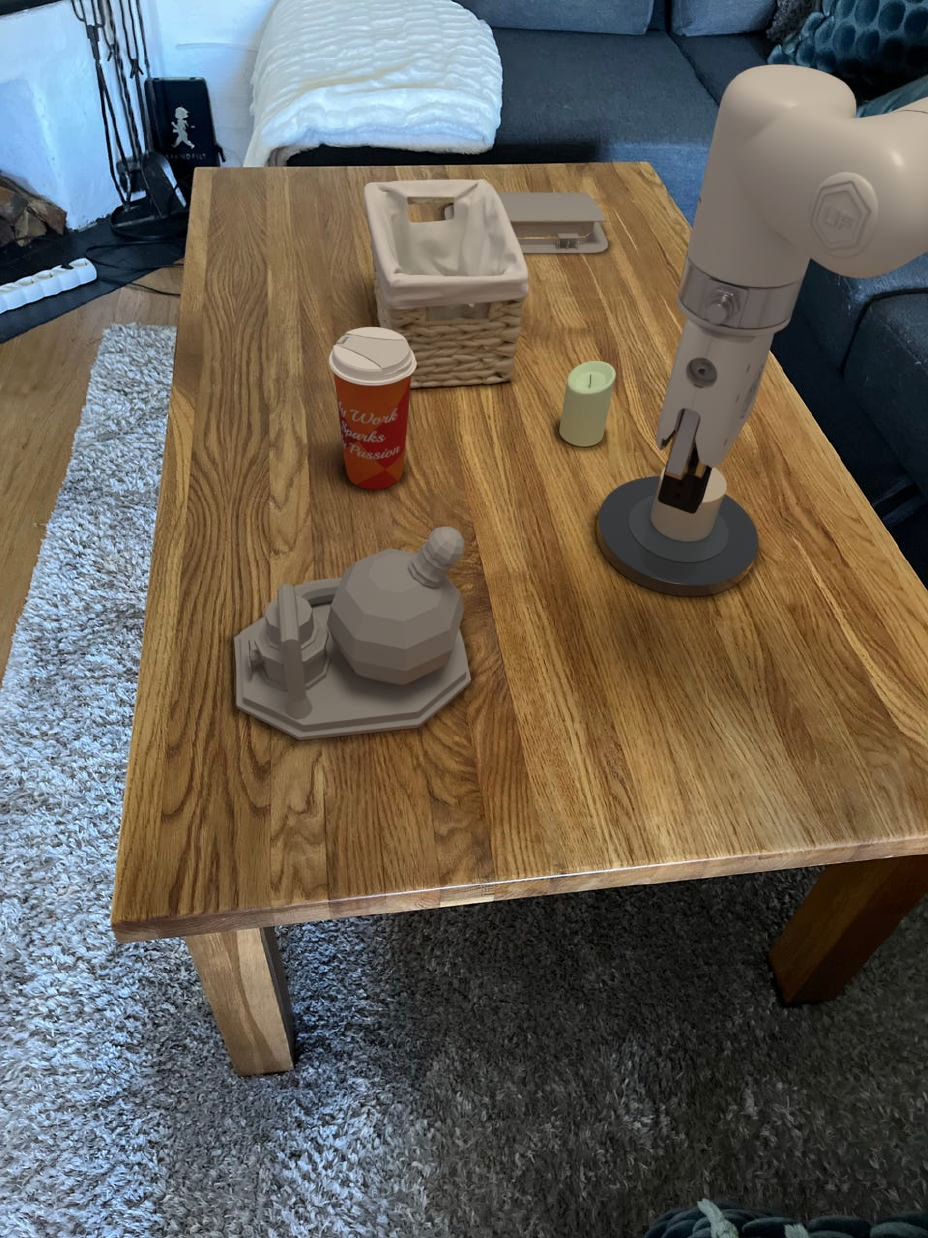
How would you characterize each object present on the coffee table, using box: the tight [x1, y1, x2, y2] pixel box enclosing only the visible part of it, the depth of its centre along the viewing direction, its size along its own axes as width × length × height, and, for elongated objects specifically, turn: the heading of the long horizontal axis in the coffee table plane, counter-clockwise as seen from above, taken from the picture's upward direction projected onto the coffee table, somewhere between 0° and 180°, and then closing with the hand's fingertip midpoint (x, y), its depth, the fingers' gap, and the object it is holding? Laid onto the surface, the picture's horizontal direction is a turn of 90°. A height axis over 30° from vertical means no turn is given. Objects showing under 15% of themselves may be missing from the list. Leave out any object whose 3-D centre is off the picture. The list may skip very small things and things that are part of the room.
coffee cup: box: [328, 326, 417, 491], centre depth 94 cm, size 8×8×15 cm
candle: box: [558, 360, 617, 447], centre depth 102 cm, size 5×5×8 cm
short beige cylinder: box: [650, 465, 728, 542], centre depth 92 cm, size 6×6×5 cm
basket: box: [363, 178, 530, 389], centre depth 111 cm, size 24×16×15 cm
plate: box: [595, 475, 759, 598], centre depth 94 cm, size 16×16×2 cm
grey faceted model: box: [233, 526, 472, 741], centre depth 76 cm, size 20×15×15 cm
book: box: [443, 191, 609, 254], centre depth 136 cm, size 15×23×4 cm, turn 97°
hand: (679, 502), depth 74 cm, fingers closed
